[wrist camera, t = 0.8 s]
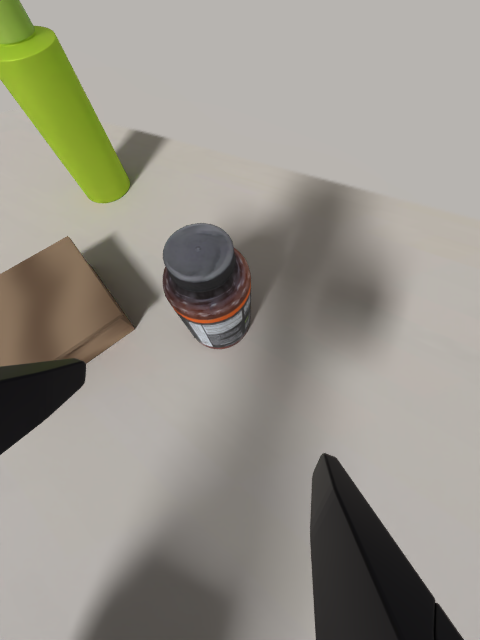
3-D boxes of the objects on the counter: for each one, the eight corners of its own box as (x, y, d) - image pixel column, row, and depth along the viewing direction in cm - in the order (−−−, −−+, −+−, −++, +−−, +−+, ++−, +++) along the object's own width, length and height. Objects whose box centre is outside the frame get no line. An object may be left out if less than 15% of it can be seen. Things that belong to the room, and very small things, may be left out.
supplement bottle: (189, 300, 24) (144, 214, 14) (245, 292, 24) (243, 201, 14) (193, 355, 22) (143, 303, 12) (254, 346, 22) (260, 286, 12)
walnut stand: (36, 404, 21) (-9, 402, 17) (-3, 318, 24) (-48, 301, 20) (141, 329, 23) (121, 313, 19) (92, 260, 27) (67, 236, 23)
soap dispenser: (142, 191, 31) (-21, -153, 12) (90, 209, 30) (-173, -133, 11) (131, 164, 33) (-24, -165, 14) (82, 180, 32) (-152, -149, 13)
